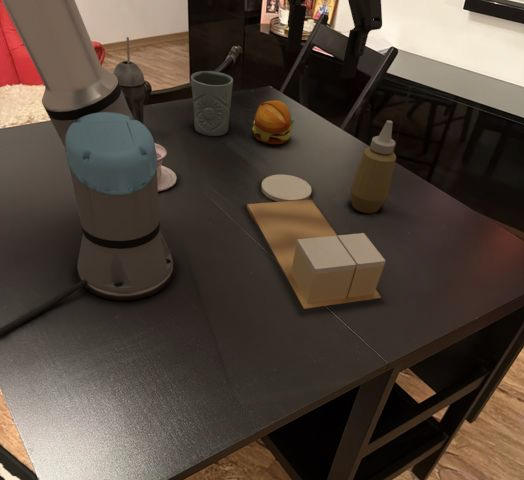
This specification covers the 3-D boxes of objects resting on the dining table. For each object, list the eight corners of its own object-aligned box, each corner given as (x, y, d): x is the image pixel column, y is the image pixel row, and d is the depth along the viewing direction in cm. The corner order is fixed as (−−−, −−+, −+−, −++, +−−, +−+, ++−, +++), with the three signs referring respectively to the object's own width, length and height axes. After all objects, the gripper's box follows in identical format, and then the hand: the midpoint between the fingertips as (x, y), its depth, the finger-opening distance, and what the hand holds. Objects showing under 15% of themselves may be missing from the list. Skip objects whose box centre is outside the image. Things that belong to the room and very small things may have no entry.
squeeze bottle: (355, 218, 100) (379, 130, 87) (340, 198, 105) (361, 112, 92) (389, 216, 102) (418, 130, 89) (373, 196, 107) (398, 113, 94)
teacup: (185, 189, 101) (184, 160, 96) (128, 197, 96) (125, 167, 92) (165, 163, 108) (164, 135, 103) (112, 169, 103) (108, 141, 98)
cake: (346, 298, 80) (356, 264, 75) (307, 303, 78) (315, 269, 73) (327, 269, 85) (335, 235, 80) (290, 273, 83) (297, 239, 78)
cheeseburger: (292, 131, 127) (298, 95, 118) (288, 158, 121) (294, 122, 113) (254, 125, 126) (257, 89, 118) (248, 151, 121) (251, 115, 112)
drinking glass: (207, 140, 118) (208, 87, 109) (183, 125, 123) (182, 73, 114) (238, 132, 123) (241, 81, 114) (214, 117, 128) (215, 68, 119)
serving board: (380, 302, 82) (381, 297, 81) (302, 313, 78) (304, 308, 77) (310, 203, 102) (311, 199, 101) (246, 208, 98) (246, 203, 97)
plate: (288, 209, 99) (289, 205, 99) (250, 187, 104) (251, 183, 103) (320, 193, 105) (321, 189, 105) (283, 173, 110) (284, 169, 109)
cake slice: (373, 294, 81) (385, 260, 76) (347, 298, 80) (358, 264, 75) (353, 266, 86) (363, 232, 81) (328, 269, 85) (337, 235, 80)
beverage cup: (112, 135, 114) (100, 39, 100) (127, 124, 119) (117, 31, 105) (140, 142, 113) (132, 46, 99) (154, 131, 118) (148, 38, 104)
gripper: (439, -94, 61) (389, 86, 76) (309, -121, 73) (288, 39, 88) (402, -99, 57) (356, 92, 72) (271, -126, 69) (256, 42, 84)
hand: (319, 63), depth 80 cm, fingers open, 13 cm apart
